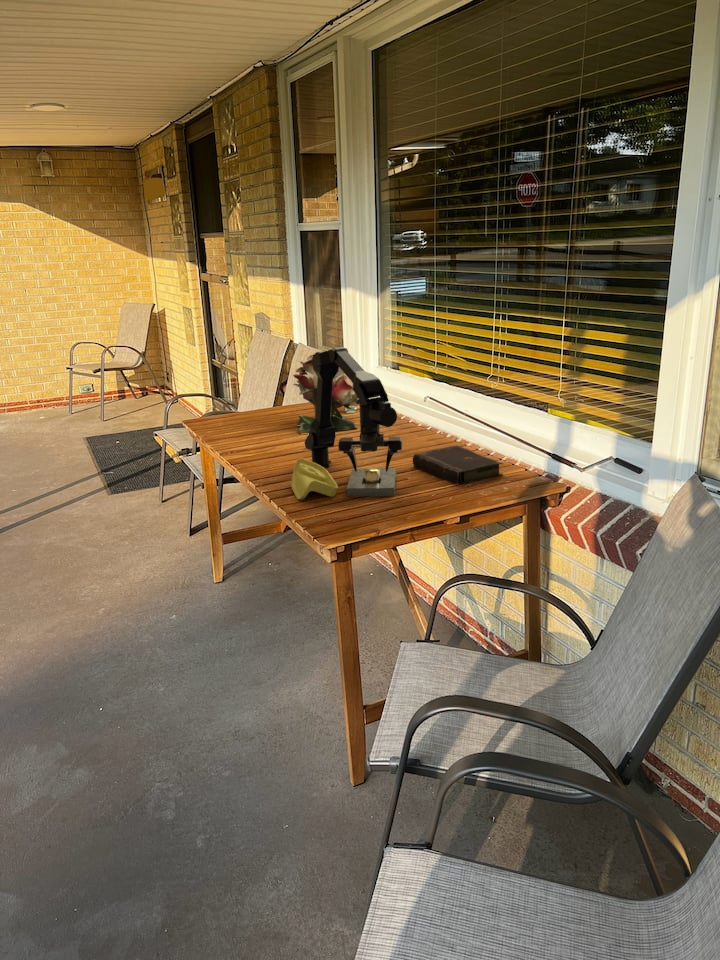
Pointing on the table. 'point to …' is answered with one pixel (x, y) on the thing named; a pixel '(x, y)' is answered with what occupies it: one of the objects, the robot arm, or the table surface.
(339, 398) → the rose bouquet
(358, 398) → the pneumatic valve
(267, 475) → the table surface
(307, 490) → the plastic component
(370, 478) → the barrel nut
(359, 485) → the flange plate
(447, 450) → the diary
